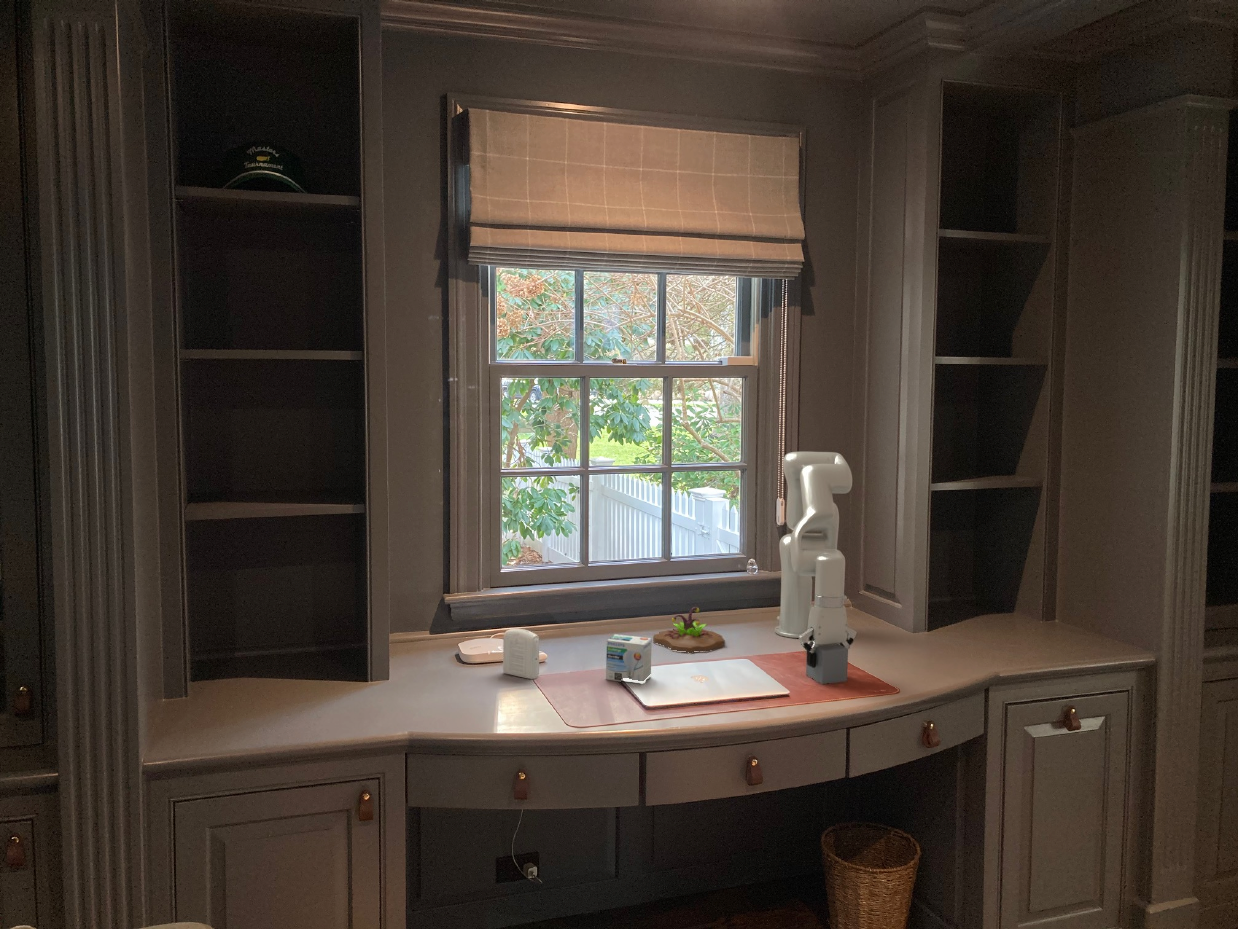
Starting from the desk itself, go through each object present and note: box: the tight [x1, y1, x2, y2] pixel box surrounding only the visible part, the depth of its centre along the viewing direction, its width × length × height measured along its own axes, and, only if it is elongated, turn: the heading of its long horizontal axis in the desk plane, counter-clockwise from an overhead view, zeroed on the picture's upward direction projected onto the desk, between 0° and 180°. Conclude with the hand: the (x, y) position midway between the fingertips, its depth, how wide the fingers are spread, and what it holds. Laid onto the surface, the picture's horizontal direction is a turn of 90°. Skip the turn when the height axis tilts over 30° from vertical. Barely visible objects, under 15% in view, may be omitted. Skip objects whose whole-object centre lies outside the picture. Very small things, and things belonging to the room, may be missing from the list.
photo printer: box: [502, 628, 540, 680], centre depth 243 cm, size 10×4×12 cm, turn 60°
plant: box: [652, 606, 726, 654], centre depth 275 cm, size 20×20×11 cm
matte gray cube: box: [805, 644, 849, 685], centre depth 243 cm, size 8×8×9 cm
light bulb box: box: [605, 633, 653, 683], centre depth 241 cm, size 11×7×11 cm, turn 70°
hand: (826, 664), depth 243 cm, fingers open, 9 cm apart
